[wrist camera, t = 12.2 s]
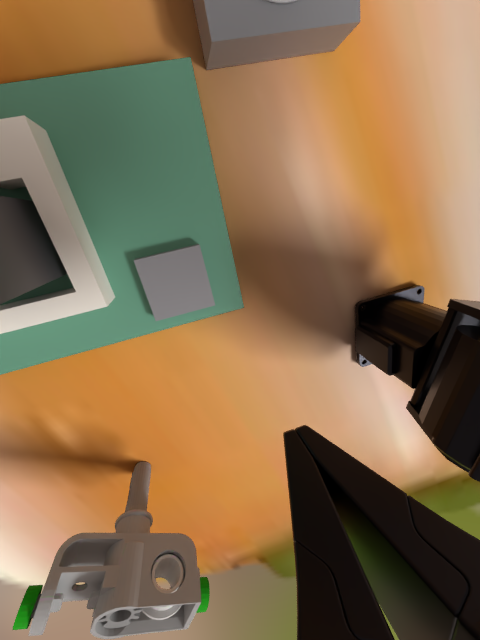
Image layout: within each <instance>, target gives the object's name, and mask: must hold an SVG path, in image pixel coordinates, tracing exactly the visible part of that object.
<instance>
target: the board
mask: <svg viewBox="0 0 480 640" xmlns="http://www.w3.org/2000/svg"><path fill="white" fill-rule="evenodd" d="M0 196H4V197H11V198H17V199H24V200H30V201H33V202H34V204H35V206H36V208H37V211H38V213H39V215H40V217H41V219H42V221H43V223H44V225H45V227H46V230H47V232H48V234H49V236H50V238H51V240H52V242H53V244H54V246H55V249H56V251H57V253H58V255H59V257H60V259H61V261H62V263H63V265H64V268H65V270H66V272H67V274H66V275H64V276H61V277H59V278H57V279H55V280H53V281H50V282H48V283H46V284H44V285H42V286H39V287H37V288H35V289H33V290H31V291H29V292H26V293H24V294H22V295H20V296H18V297H15V298H13V299H11V300H9V301H7V302H4V303H2V304H0V375H1V374H4V373H8V372H12V371H15V370H19V369H23V368H26V367H30V366H33V365H37V364H41V363H44V362H48V361H52V360H55V359H59V358H63V357H66V356H70V355H73V354H77V353H81V352H84V351H88V350H92V349H95V348H99V347H103V346H106V345H110V344H114V343H117V342H121V341H124V340H128V339H132V338H135V337H139V336H143V335H146V334H150V333H154V332H157V331H161V330H164V329H168V328H172V327H175V326H179V325H183V324H186V323H190V322H194V321H197V320H201V319H204V318H208V317H212V316H215V315H219V314H223V313H226V312H230V311H234V310H237V309H241V308H244V306H243V301H242V296H241V291H240V287H239V282H238V277H237V273H236V268H235V263H234V259H233V254H232V249H231V245H230V240H229V235H228V230H227V226H226V221H225V216H224V212H223V207H222V202H221V198H220V193H219V188H218V184H217V179H216V174H215V169H214V165H213V160H212V155H211V151H210V146H209V141H208V137H207V132H206V127H205V123H204V118H203V113H202V108H201V104H200V99H199V94H198V90H197V85H196V80H195V76H194V71H193V66H192V62H191V57H187V58H180V59H173V60H166V61H159V62H152V63H145V64H138V65H131V66H124V67H117V68H110V69H103V70H96V71H89V72H82V73H75V74H68V75H61V76H54V77H47V78H40V79H33V80H26V81H19V82H12V83H5V84H0Z"/></svg>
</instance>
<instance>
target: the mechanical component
mask: <svg viewBox="0 0 480 640" xmlns="http://www.w3.org/2000/svg"><path fill="white" fill-rule="evenodd" d="M150 474H151V465H150V464H149V463H148V462H139V463H137V464H136V466H135V468H134V472H133V473H132V478H131V483H130V490H129V496H128V501H127V505H126V510H125V513H123V514H122V515H121V516H119V517H118V519H117V520H116V523H115V529H116V533H80V534H77V535H74V536H72V537H71V538H69V539H68V540H67V541H65V542H64V543H63V545H62V546H61V547H60V548H59V550H58V552H57V554H56V556H55V559H54V562H53V564H52V567H51V570H50V572H49V575H48V578H47V581H46V583H45V586H44V589H43V591H42V594H40V593H41V590H42V587H43V585H33V586H29V587H28V589H27V591H26V593H25V596H24V598H23V601H22V603H21V606H20V608H19V611H18V614H17V617H16V619H15V623H14V626H13V630H18V629H27V628H28V626H29V624H30V622H31V619H32V618H33V621H32V625H31V628H30V632H29V636H33V635H42V634H43V632H44V629H45V626H46V623H47V620H48V617H49V614H50V612H57V611H59V610H60V608H61V605H62V602H65V601H79V600H88V604H87V609H94V612H93V621H92V626H91V630H90V632H91V634H92V635H93V636H95V637H98V638H102V639H115V638H119V637H123V636H128V635H137V634H146V633H155V632H163V631H172V630H181V629H188V627H189V625H190V623H191V621H192V619H193V617H194V615H195V614H196V613H198V612H205V611H206V610H207V607H208V603H209V581H208V578H207V577H200V572H199V568H198V567H197V556H196V548H195V545H194V543H193V541H192V540H191V539H190V538H189V537H188V536H186V535H184V534H179V533H150V527H151V525H152V522H153V518H152V516H151V514H150V513H149V512H147V501H148V492H149V483H150ZM158 577H162V578H165V579H166V580H167V581H168V582H169V583H170V586H171V588H170V589H163V588H161V587H160V586H158V584H157V582H156V578H158ZM78 582H85V584H83V585H76V584H75V583H78Z"/></svg>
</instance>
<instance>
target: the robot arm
mask: <svg viewBox="0 0 480 640" xmlns="http://www.w3.org/2000/svg"><path fill="white" fill-rule="evenodd" d="M423 300H424V287H423V286H419V285H415V286H411V287H408V288H404V289H401V290H398V291H394V292H391V293H387V294H384V295H380V296H377V297H373V298H370V299H366V300H363V301H360V302H358V303H357V304H356V307H355V316H356V328H355V337H356V352H357V363H358V364H359V365H360V366H362V367H364V366H367V365H370V364H374V365H375V366H376V367H378V368H379V369H380V370H382V371H383V372H385V373H386V374H388V375H389V376H391V375H394V376H396V377H397V378H398V379H400V380H401V381H403V382H404V383H406V384H407V385H408V386H410V387H411V388H413V389H414V388H415V391H414V393H413V396H412V398H411V401H409V402H408V404H407V407H406V408H407V410H408V411H409V412H410V414H411V415H412V416H413V418H414V419H415V420H416V422H417V423H418V424H419V425H420V427H421V428H422V429H423V431H424V432H425V433H426V435H427V436H428V437H429V439H430V440H431V441H432V443H433V444H434V446H435V447H436V448H437V449H438V450H439V451H440V452H441V453H442V454H443V455H444V456H445V458H446V459H447V460H449V461H451V462H452V463H454V464H455V465H457V466H458V467H460V468H461V469H463V470H465V471H467V472H469V476H470V477H471V478H473V479H475V480H477V481H479V482H480V302H478V301H468V300H457V299H450V301H449V304H448V306H447V307H449V308H448V311H445V310H442V309H439V308H436V307H433V306H430V305H427V304H424V303H423ZM362 306H363V308H362V309H361V307H362ZM363 360H364V361H363ZM362 361H363V362H362ZM283 437H284V447H285V457H286V468H287V478H288V489H289V499H290V509H291V520H292V530H293V540H294V553H295V564H296V579H297V640H394V637H393V635H392V633H391V630H390V628H389V626H388V624H387V622H386V620H385V617H384V615H383V613H382V610H383V611H384V613H385V615H386V617H387V618H388V620H389V622H390V624H391V626H392V628H393V629H394V631H395V633H396V634H397V636H398V638H399V640H480V540H479V539H477V538H475V537H474V536H472V535H470V534H468V533H467V532H465V531H463V530H462V529H460V528H458V527H457V526H455V525H453V524H452V523H450V522H448V521H446V520H445V519H444V518H442V517H441V516H439V515H438V514H436V513H435V512H433V511H432V510H430V509H428V508H427V507H425V506H424V505H422V504H421V503H419V502H418V501H417V500H415V499H414V498H412V497H411V496H407V494H406V493H405V492H403V491H402V490H400V489H399V488H397V487H396V486H395V485H393V484H392V483H390V482H389V481H387V480H386V479H384V478H383V477H381V476H380V475H378V474H377V473H376V472H374V471H373V470H371V469H370V468H368V467H367V466H365V465H364V464H362V463H361V462H359V461H358V460H357V459H355V458H354V457H352V456H351V455H349V454H348V453H346V452H345V451H343V450H342V449H340V448H339V447H338V446H336V445H335V444H333V443H332V442H330V441H329V440H327V439H326V438H324V437H323V436H321V435H320V434H319V433H317V432H316V431H314V430H313V429H311V428H310V427H308V426H306V425H303V426H300V427H298V428H296V429H295V430H294V429H292V430H289V431H286V432H284V433H283ZM378 603H379V604H378ZM379 605H380V606H381V608H382V610H381V608H380V606H379Z"/></svg>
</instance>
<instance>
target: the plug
mask: <svg viewBox="0 0 480 640" xmlns="http://www.w3.org/2000/svg"><path fill="white" fill-rule="evenodd" d="M66 274H67V272H66V270H65V268H64V265H63V263H62V261H61V259H60V257H59V255H58V253H57V251H56V249H55V246H54V244H53V242H52V240H51V238H50V236H49V234H48V232H47V230H46V227H45V225H44V223H43V221H42V219H41V217H40V215H39V213H38V211H37V208H36V206H35V204H34V202H33V201H30V200H24V199H17V198H11V197H4V196H0V304H2V303H4V302H7V301H9V300H11V299H13V298H15V297H18V296H20V295H22V294H24V293H26V292H29V291H31V290H33V289H35V288H37V287H39V286H42V285H44V284H46V283H48V282H50V281H53V280H55V279H57V278H59V277H61V276H64V275H66Z"/></svg>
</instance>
